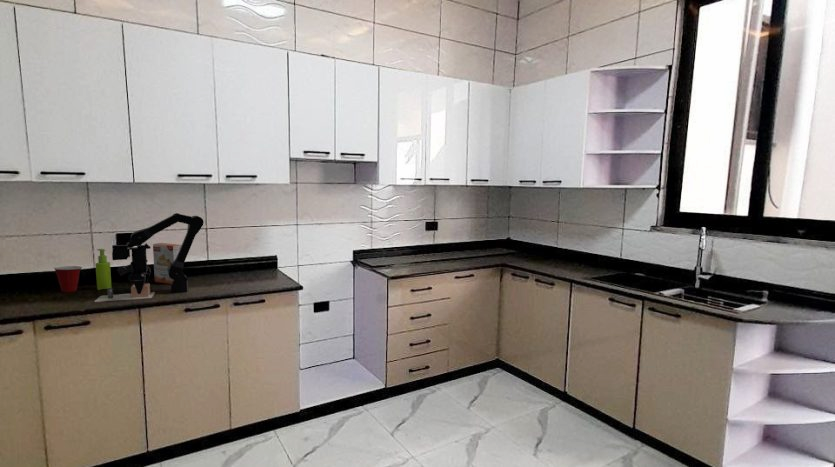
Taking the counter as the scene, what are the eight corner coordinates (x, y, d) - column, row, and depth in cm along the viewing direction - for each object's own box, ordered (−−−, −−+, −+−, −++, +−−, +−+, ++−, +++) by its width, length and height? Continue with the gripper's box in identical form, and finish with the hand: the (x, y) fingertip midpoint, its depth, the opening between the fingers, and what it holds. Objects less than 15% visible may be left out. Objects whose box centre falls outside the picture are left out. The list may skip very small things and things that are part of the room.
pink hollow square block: (150, 293, 210) (149, 283, 209) (148, 296, 205) (147, 286, 204) (134, 294, 207) (133, 284, 207) (131, 297, 202) (130, 287, 201)
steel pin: (113, 297, 203) (113, 287, 202) (112, 298, 201) (112, 288, 200) (108, 297, 202) (107, 287, 201) (107, 298, 200) (106, 288, 199)
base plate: (155, 294, 213) (155, 292, 213) (151, 299, 203) (151, 297, 203) (100, 297, 204) (100, 295, 204) (94, 304, 194) (93, 301, 194)
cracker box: (153, 282, 236) (152, 243, 233) (163, 280, 242) (161, 242, 239) (174, 285, 232) (172, 245, 229) (183, 282, 237) (182, 244, 235)
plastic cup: (89, 288, 220) (87, 265, 219) (68, 294, 209) (66, 269, 208) (71, 287, 222) (69, 263, 221) (49, 292, 211) (47, 268, 210)
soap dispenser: (108, 286, 226) (106, 247, 223) (113, 288, 221) (110, 249, 219) (94, 288, 221) (92, 249, 219) (99, 290, 217) (96, 250, 214)
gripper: (123, 256, 209) (125, 288, 211) (113, 263, 192) (115, 297, 194) (150, 254, 214) (151, 286, 215) (143, 261, 197) (145, 295, 198)
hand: (141, 291), depth 206 cm, fingers open, 9 cm apart
